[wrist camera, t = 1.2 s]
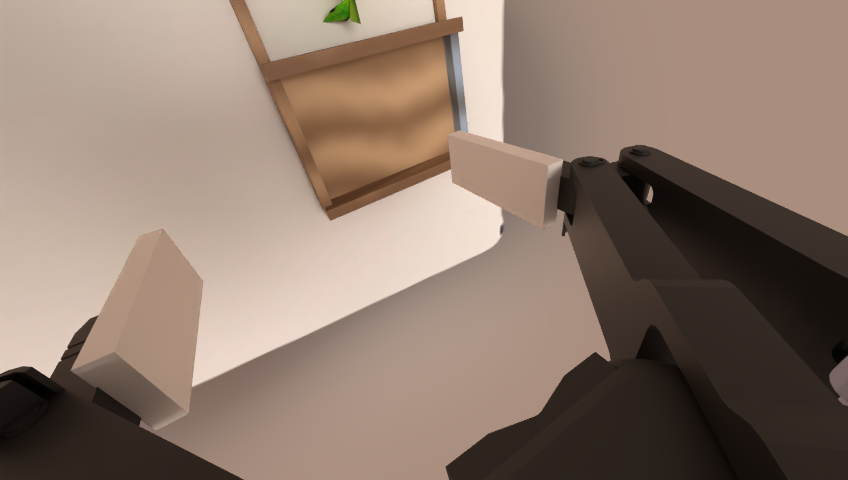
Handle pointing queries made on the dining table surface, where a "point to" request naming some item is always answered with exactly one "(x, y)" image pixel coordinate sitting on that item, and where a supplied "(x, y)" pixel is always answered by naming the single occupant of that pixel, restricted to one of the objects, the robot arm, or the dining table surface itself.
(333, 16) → the apple
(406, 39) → the frame
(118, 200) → the dining table surface
